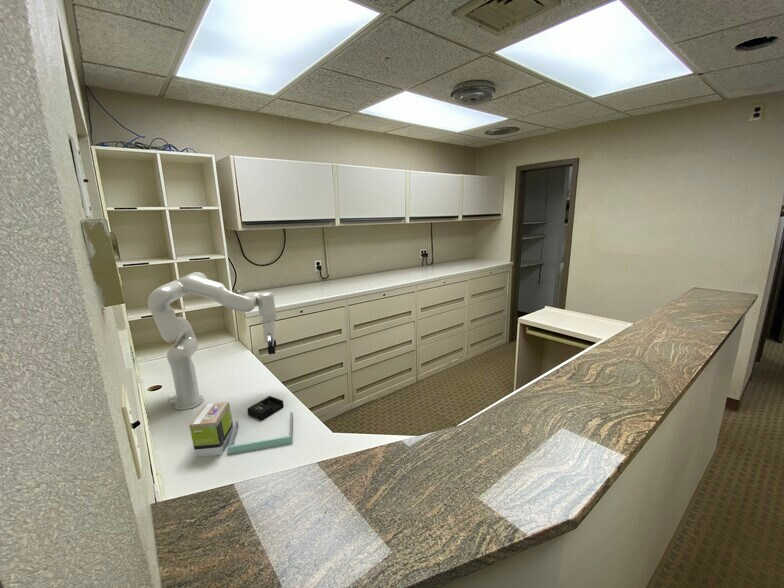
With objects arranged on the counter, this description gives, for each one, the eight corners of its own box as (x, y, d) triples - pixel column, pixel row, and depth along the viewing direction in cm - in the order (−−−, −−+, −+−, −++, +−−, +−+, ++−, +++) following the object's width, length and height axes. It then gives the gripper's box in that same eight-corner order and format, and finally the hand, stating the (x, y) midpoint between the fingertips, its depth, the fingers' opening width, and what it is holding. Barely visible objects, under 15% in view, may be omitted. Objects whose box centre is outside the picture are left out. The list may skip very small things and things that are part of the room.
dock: (228, 454, 137) (227, 447, 136) (236, 426, 154) (235, 420, 154) (292, 443, 143) (291, 436, 142) (293, 417, 160) (292, 411, 159)
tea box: (210, 434, 150) (205, 402, 147) (235, 432, 151) (230, 400, 147) (194, 458, 136) (188, 424, 132) (221, 455, 136) (216, 421, 133)
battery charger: (261, 421, 158) (260, 414, 157) (248, 416, 163) (246, 408, 162) (284, 408, 169) (283, 400, 168) (270, 402, 174) (269, 395, 173)
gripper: (261, 313, 179) (265, 345, 183) (258, 323, 163) (263, 358, 167) (276, 311, 181) (281, 343, 185) (275, 321, 165) (279, 355, 169)
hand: (272, 350), depth 176 cm, fingers open, 9 cm apart
